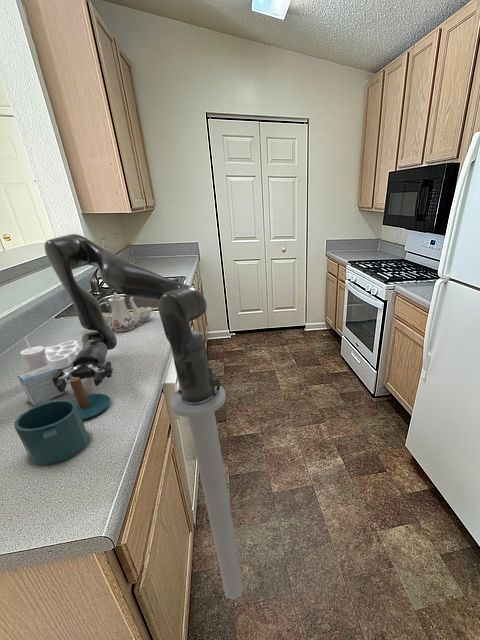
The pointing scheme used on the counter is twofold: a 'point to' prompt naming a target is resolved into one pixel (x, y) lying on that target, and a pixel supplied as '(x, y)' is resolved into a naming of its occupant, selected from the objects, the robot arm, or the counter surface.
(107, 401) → the lid
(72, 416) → the cooking pot
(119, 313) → the chinaware
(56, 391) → the medicine box
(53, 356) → the white holed tray
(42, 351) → the smoothie
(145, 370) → the counter surface
